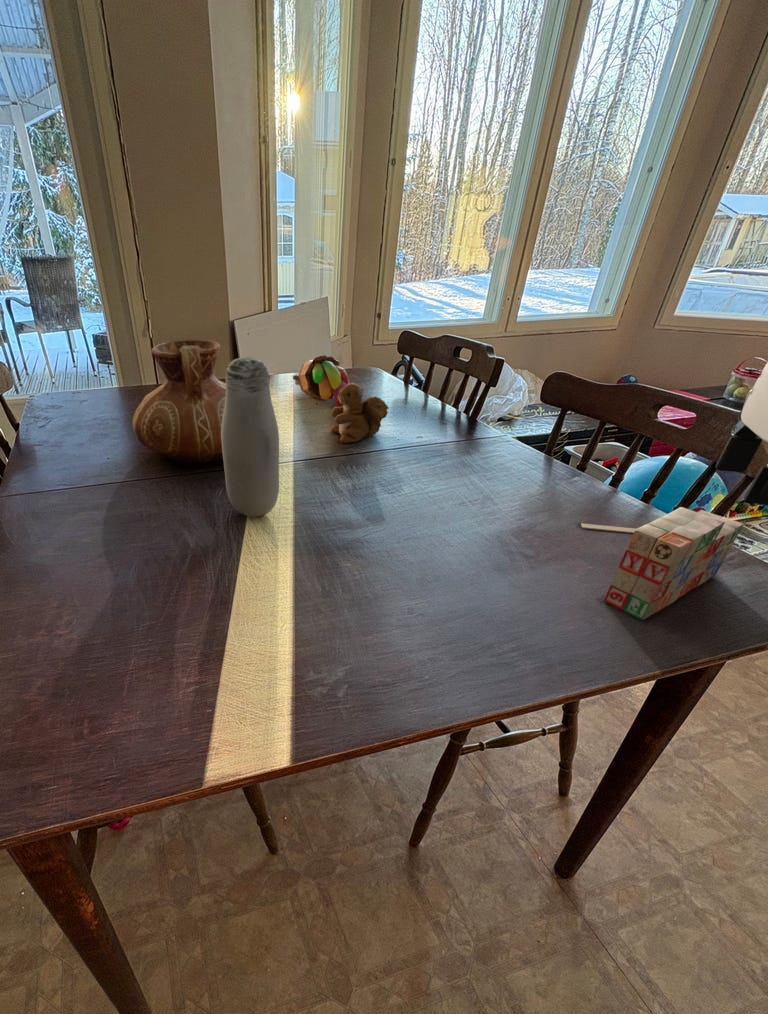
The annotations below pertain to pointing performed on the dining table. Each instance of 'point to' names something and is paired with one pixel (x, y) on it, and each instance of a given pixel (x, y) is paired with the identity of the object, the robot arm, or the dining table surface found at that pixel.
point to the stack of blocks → (670, 560)
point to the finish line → (608, 528)
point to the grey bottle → (250, 438)
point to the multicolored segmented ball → (322, 378)
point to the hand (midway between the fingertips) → (743, 485)
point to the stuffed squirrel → (357, 414)
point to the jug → (184, 404)
